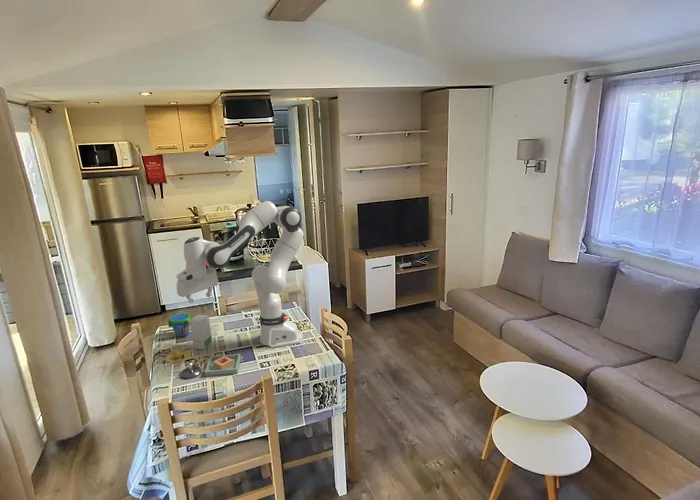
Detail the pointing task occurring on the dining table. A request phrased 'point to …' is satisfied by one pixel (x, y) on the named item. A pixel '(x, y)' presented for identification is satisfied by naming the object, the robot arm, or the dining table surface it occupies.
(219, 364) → the orange hollow square block
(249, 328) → the dining table surface
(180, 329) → the snack cup
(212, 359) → the tray
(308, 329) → the dining table surface
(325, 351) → the dining table surface
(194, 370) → the silver knobbed lid
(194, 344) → the grey tall box
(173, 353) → the cup
